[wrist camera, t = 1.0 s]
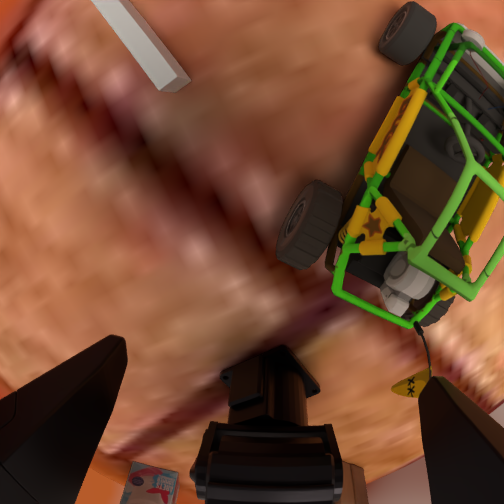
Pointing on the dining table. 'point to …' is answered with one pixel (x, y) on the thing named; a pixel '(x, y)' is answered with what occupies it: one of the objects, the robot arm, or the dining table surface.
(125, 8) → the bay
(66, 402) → the robot arm
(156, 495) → the milk carton
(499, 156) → the motor vehicle
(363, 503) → the wooden toy
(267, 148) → the dining table surface
